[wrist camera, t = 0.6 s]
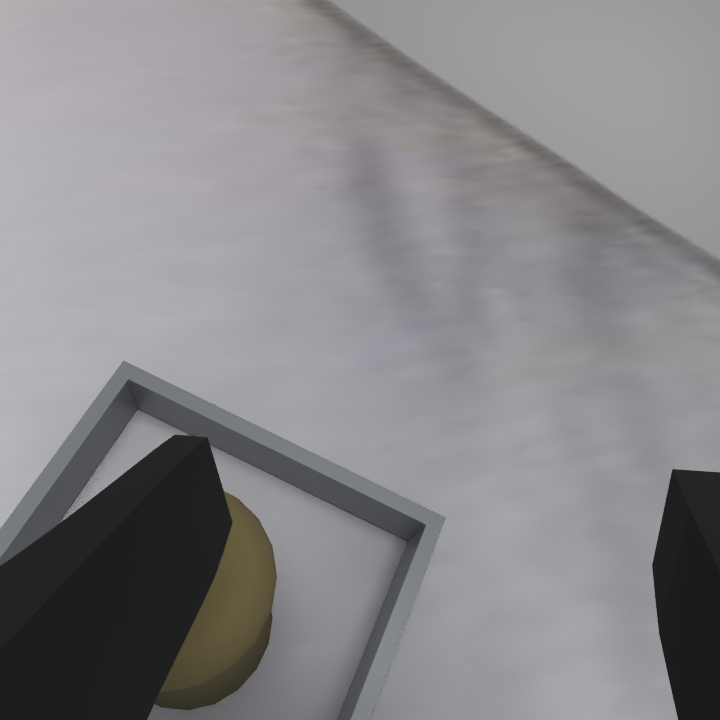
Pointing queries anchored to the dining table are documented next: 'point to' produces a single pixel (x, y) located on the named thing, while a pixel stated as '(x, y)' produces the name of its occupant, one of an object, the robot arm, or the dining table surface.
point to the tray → (260, 450)
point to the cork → (227, 620)
